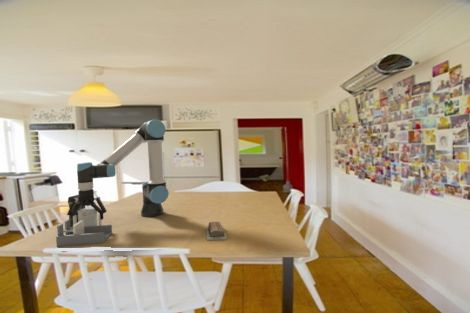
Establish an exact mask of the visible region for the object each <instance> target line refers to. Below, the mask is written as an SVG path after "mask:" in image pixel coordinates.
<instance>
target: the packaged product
mask: <svg viewBox="0 0 470 313" xmlns="http://www.w3.org/2000/svg"><path fill="white" fill-rule="evenodd" d="M205 233H206V240H207V241H220V240H227V239H228V238H227V235H226V231H225V229H224V226H222V223H221V222H220V221H209V222H208V227H207V226H206V227H205Z"/></svg>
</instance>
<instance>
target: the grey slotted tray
mask: <svg viewBox="0 0 470 313" xmlns="http://www.w3.org/2000/svg"><path fill="white" fill-rule="evenodd" d="M56 226H57V227H56V228H57V236H55V241H56V247H63V246H64V247H66V246H77V245H78V246H79V245H90V244H100V243H102V244H103V243H105V242H106V240H107V239H109V238H110V236H111V235H112V234H113V225H112V224H105V225H104V224H102V225H100V226H99V225H98V226H87V227H84V231H85V234H74V235H73V232H66V233H65V234H64V232H63V230H73V227H72V226H70V219H69V218H68V219H66V220H65V221H64V223H60V224H58V225H56Z"/></svg>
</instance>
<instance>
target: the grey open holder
mask: <svg viewBox="0 0 470 313" xmlns="http://www.w3.org/2000/svg"><path fill="white" fill-rule="evenodd" d="M72 228H73V230H65V229H63V232H64V233H66V232H73V235H74V234H85V231H84V220H81V221H79V222H78V223H76V224H75V225H73V226H72Z"/></svg>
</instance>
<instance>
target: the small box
mask: <svg viewBox="0 0 470 313" xmlns="http://www.w3.org/2000/svg"><path fill="white" fill-rule="evenodd" d="M81 220H84V227H87V226H99V223H98V212H97V211H96V210H95V209H94V208H93V207H92V206H90V207H89V206H88V207H85V208H84V209H80V210H78V222H79V221H81Z"/></svg>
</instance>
